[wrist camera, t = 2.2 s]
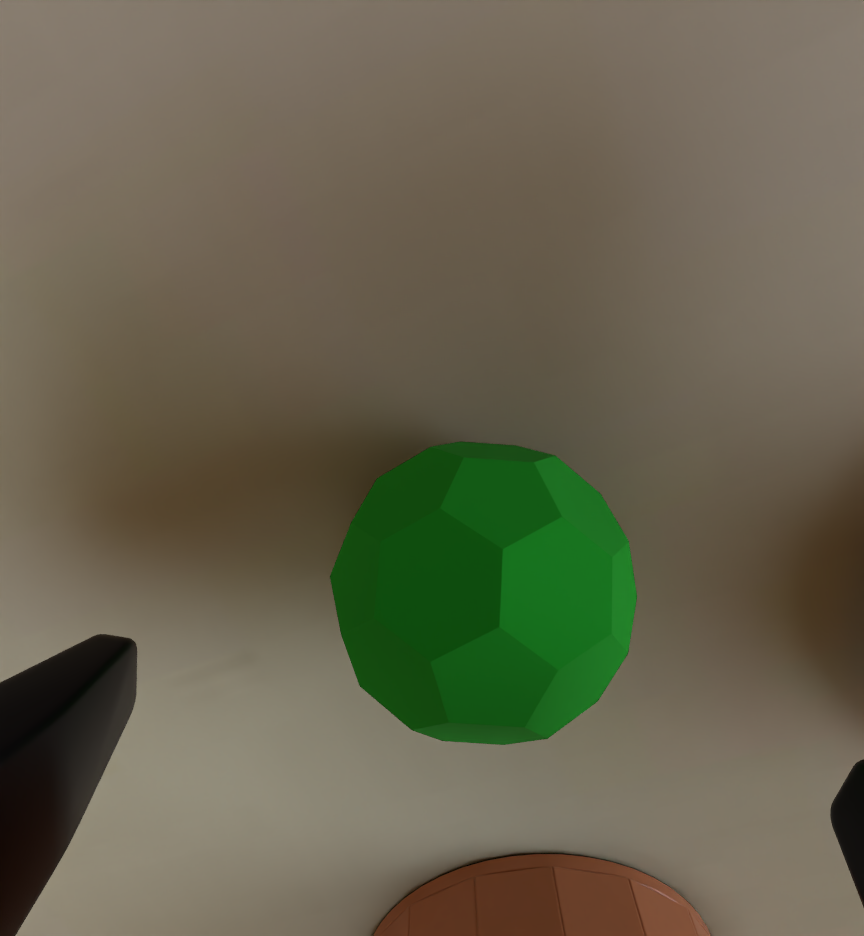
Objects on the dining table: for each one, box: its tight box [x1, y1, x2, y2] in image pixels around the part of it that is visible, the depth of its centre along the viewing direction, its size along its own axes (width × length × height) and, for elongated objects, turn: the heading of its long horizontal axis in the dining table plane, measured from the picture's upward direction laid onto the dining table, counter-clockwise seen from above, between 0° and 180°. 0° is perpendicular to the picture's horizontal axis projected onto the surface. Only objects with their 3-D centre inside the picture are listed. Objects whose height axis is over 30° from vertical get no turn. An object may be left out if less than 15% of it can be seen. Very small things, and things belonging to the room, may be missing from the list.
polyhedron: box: [330, 442, 637, 745], centre depth 10 cm, size 5×5×5 cm
